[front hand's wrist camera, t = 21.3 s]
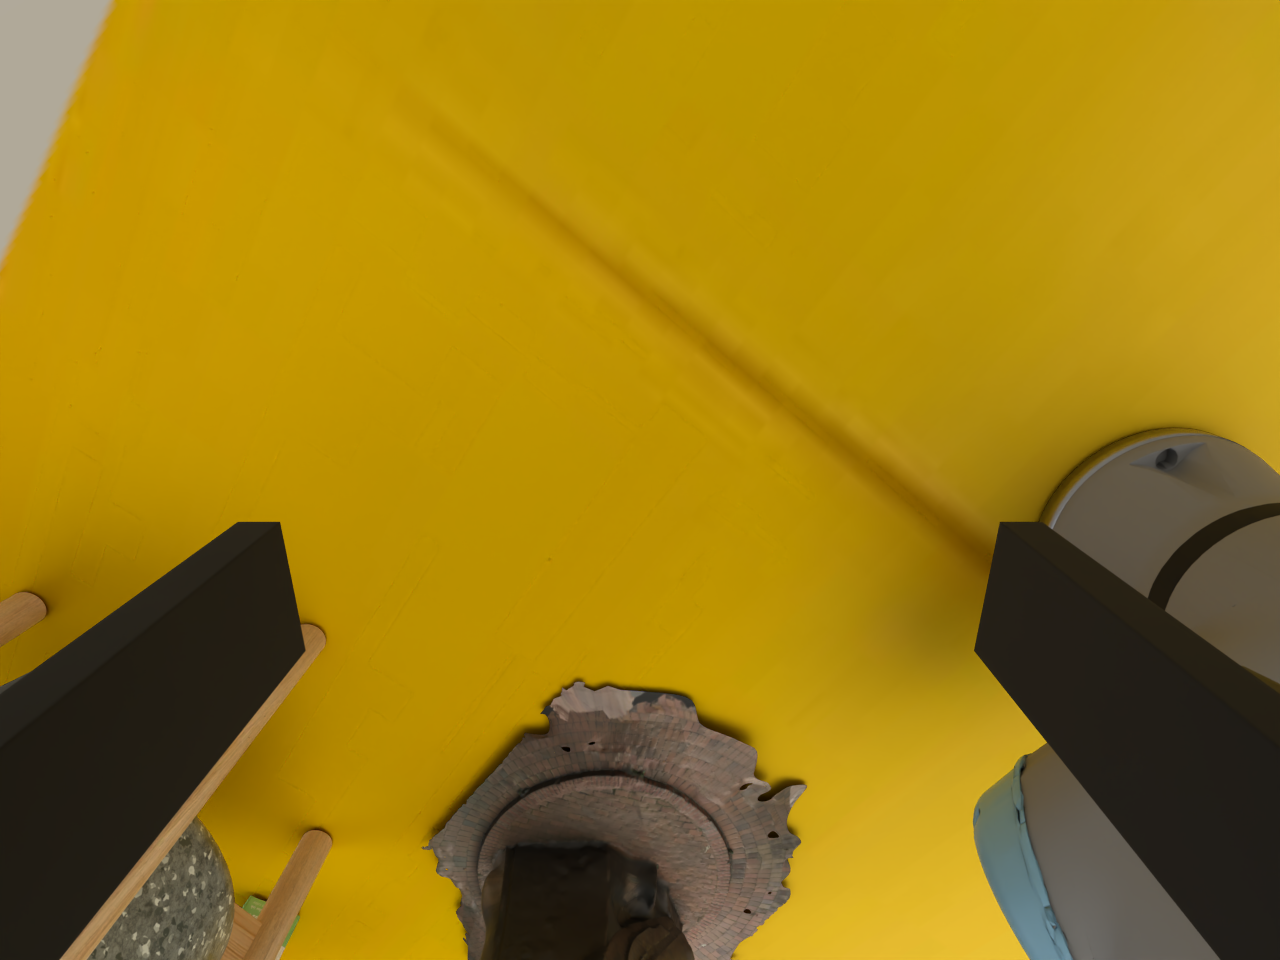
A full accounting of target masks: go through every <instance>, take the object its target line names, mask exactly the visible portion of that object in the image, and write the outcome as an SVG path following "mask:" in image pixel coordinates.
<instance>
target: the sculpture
mask: <svg viewBox="0 0 1280 960" xmlns="http://www.w3.org/2000/svg"><path fill="white" fill-rule="evenodd" d="M584 684H585V682H576V683H574V686H572V687H571V688H569V689H568V690H565V689H564V688H562V692H561V696H560V697H557V698H555V699H554V700H553V702H552V703H551V705H549V706H546V707H545V709H544V710H543V711H542V712H541V713H540V714H545V715H546V716H547V717H548V719H549V722H550V730H549V732H548V733H547V734H544V735H537V734H529V733H525V734H524V736H525V737H526V738H523V740H522V741H521V743H518V744H517V745H516V746H515V748H513V750H512V752H510V753H509V755H508V757H506V758H505V759H504V761H502V762H503V763H502V764H500V765H499V766H498V767H497V768H496V769H495V771H494V772H493V773H492V774H491V775H490V776H488V778H487V779H485V782H484V783H483V784H481V786H479V787H478V788H477V789H476V790H475V792H473V793H474V794H473V795H472V796H470V797H469V799H467V803H466V804H463V805H462V807H461V808H459V809H458V812H456V814H454V815H453V816H452V819H450V821H448V823H446V826H445V828H444V829H443V830H442V831H440V832H439V833H438V834H436V835H435V836H434V837H432V840H429V846H427V847H425V848H424V847H423V848H422V849H426V850H430V849H433V851H434V853H435V855H436V857H437V858H438V860H439V862H438V865H437V868H436V872H437V873H438V874H439V875H440V876H442V877H447V878H450V879H451V880H452V882H453V883H454V885H455V886H456V887H457V888H459V889H460V890H461V893H462V895H463V896H462V900H461V906H460V908H458V909H457V911H456V914H457V916H458V918H459V920H460V921H461V922H462V924H463V926H464V928H465V929H466V931H467V932H468V934H467V933H466V934H465V935H466V940H467V941H466V940H465V939H464V938H463V940H464V941H465V942H466V944H467V945H468V960H731V959H730V957H731V955H732V953H733V952H734V950H735V949H736V947H737V946H738V944H739V943H740V942H741V941H743V940H744V939H746V938H748V937H749V936H752V935H753V934H754V933H755V932H756V931H757V929H756V928H757V927H758V926H759V925H763V924H764V921H765V920H766V919H768V918H769V917H770V916H771V915H772V914H774V912H776V911H777V908H778V907H780V906H782V905H783V903H784V904H785V903H786V902H787V900H788V899H789V897H790V889H788V888H784V887H783V886H782V883H781V882H782V881H783V880H784V879H785V878H786V877H787V876H788V875H789V873H790V865H789V863H788V860H787V859H788V858H793V856H792V854H793V851H794V849H795V848H796V847H797V846H798V845H799V844H800V843H801V841H800V839H799V838H798V837H797V836H795V835H793V834H791V833H790V832H789V831H788V828H787V817H788V814H789V812H790V809H791V807H792V806H793V804H794V803H795V801H796V800H797V799H798V798H799V796H800V795H801V794H802V793H803V792H804V790H805V789H806V788H807V786H806V785H795V786H790V787H787V788H785V789H783V790H782V791H780V792H779V793H777V794H776V795H775V796H774V797H773V798H772V799H770V800H768V801H765V802H760V801H758V797H759V796H760V795H761V794H763V793H766V792H768V791H769V790H770V789H771V786H770V785H769V784H768V783H767V782H764V781H761V780H758V779H756V778H755V776H754V770H755V766H756V762H757V751H756V750H755V749H754V748H753V747H751V746H749V745H747V744H745V743H742V742H740V741H738V740H736V739H734V738H732V737H729V736H726V735H724V734H721V733H718V732H715V731H713V730H710V729H708V728H706V727H704V726H703V725H701V724H700V722H699V721H698V717H697V713H696V708H695V705H694V703H693V702H692V700H690V699H688V698H687V697H684V696H680V695H675V694H667V693H656V692H642V691H627V690H619V689H616V688H613V687H610V686H607V687H604V688H602V689H599V690H597V691H593V690H590V689H588V688H585V687H584ZM590 742H595V744H593V745H588V743H590ZM561 747H569V748H570V752H566V751H564V750H563V749H562V748H561ZM554 752H555V753H554ZM747 783H753V784H752V785H749V786H748V787H747V788H746V789H745V790H740V787H741V786H742V785H744V784H747ZM764 786H766V787H764ZM771 831H775V832H776V833H777V834H778V835H779V837H778V838H769V837H768V834H769V833H770V832H771ZM445 868H447V869H448V870H445ZM768 892H772V893H771V894H768ZM745 909H749V910H750V911H751V914H747V913H744V910H745Z"/></svg>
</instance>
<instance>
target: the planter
mask: <svg viewBox="0 0 1280 960" xmlns="http://www.w3.org/2000/svg"><path fill="white" fill-rule="evenodd" d="M45 616H46V606H45V604H44V603H43V601H42V600H41V599H40V598H39V597H37V596H35V595H34V594H31V593H27V592H20V593H16V594H14V595H13V596H11V597H9V598H8V599H6V600H4V601H2V602H1V603H0V647H1V646H3V645H4V644H6V643H7V642H9V641H10V640H12V639H13V638H15V637H17V636H18V635H20V634H21V633H23V632H24V631H26V630H27V629H29V628H30V627H32V626H33V625H35V624H37V623H38V622H40V621H41V620H43V619H44V617H45ZM301 629H302V634H303V639H304V644H305V649H306V651H305V652H304V654H303V655H302V656H301V657H300V659H299V660H298V661H297V662H296V664H295V665H294V666H293V667H292V669H291V670H290V671H289V672H288V674H287V675H286V676H285V677H284V679H283V680H282V681H281V682H280V684H279V685H278V686H277V688H276V689H275V690H274V691H273V693H272V694H271V695H270V696H269V698H268V699H267V700H266V701H265V703H264V704H263V705H262V706H261V708H260V709H259V710H258V711H257V713H256V714H255V715H254V716H253V718H252V719H251V720H250V721H249V723H248V724H247V725H246V726H245V728H244V729H243V730H242V731H241V733H240V734H239V735H238V736H237V738H236V739H235V740H234V741H233V743H232V744H231V745H230V747H229V748H228V749H227V750H226V752H225V753H224V754H223V755H222V757H221V758H220V759H219V760H218V762H217V763H216V764H215V765H214V767H213V768H212V769H211V770H210V772H209V773H208V774H207V775H206V777H205V778H204V779H203V780H202V782H201V783H200V784H199V785H198V787H197V788H196V789H195V790H194V792H193V793H192V794H191V795H190V797H189V798H188V799H187V800H186V802H185V803H184V804H183V806H182V807H181V808H180V809H179V811H178V812H177V813H176V814H175V816H174V817H173V818H172V819H171V821H170V822H169V823H168V824H167V826H166V827H165V828H164V829H163V831H162V832H161V833H160V834H159V836H158V837H157V838H156V839H155V841H154V842H153V843H152V844H151V846H150V847H149V848H148V849H147V851H146V852H145V853H144V854H143V856H142V857H141V858H140V859H139V861H138V862H137V863H136V865H135V866H134V867H133V868H132V870H131V871H130V872H129V873H128V875H127V876H126V877H125V878H124V880H123V881H122V882H121V883H120V885H119V886H118V887H117V888H116V890H115V891H114V892H113V893H112V895H111V896H110V897H109V898H108V900H107V901H106V902H105V903H104V905H103V906H102V907H101V908H100V910H99V911H98V912H97V913H96V915H95V916H94V917H93V918H92V920H91V921H90V922H89V924H88V925H87V926H86V927H85V929H84V930H83V931H82V932H81V934H80V935H79V936H78V937H77V939H76V940H75V941H74V942H73V944H72V945H71V946H70V947H69V949H68V950H67V951H66V952H65V954H64V955H63V956H62V957H61V959H60V960H275V958H276V956H277V954H278V952H279V950H280V948H281V946H282V944H283V942H284V940H285V938H286V936H287V934H288V932H289V930H290V928H291V926H292V924H293V922H294V920H295V918H296V916H297V914H298V912H299V910H300V908H301V906H302V904H303V902H304V900H305V898H306V896H307V894H308V892H309V890H310V888H311V886H312V884H313V882H314V880H315V878H316V876H317V874H318V872H319V870H320V868H321V866H322V865H323V863H324V861H325V859H326V857H327V855H328V853H329V851H330V849H331V846H332V840H331V838H330V836H329V835H328V834H326V833H325V832H323V831H319V830H311V831H308V832H306V833H305V834H304V835H303V837H302V839H301V840H300V842H299V844H298V846H297V848H296V849H295V851H294V853H293V855H292V857H291V858H290V860H289V862H288V864H287V866H286V867H285V869H284V871H283V873H282V875H281V876H280V878H279V880H278V882H277V884H276V885H275V887H274V889H273V891H272V892H271V894H270V896H269V898H268V900H267V901H266V903H265V905H264V907H263V909H262V910H261V912H260V914H259V916H258V918H257V919H256V918H255V917H253V916H252V915H251V914H249V913H248V912H247V911H245V910H244V909H242V908H241V907H240V906H238V905H237V904H236V903H234V890H233V885H232V879H231V876H230V873H229V869H228V866H227V864H226V862H225V859H224V857H223V855H222V853H221V851H220V849H219V847H218V845H217V844H216V842H215V840H214V839H213V837H212V835H211V834H210V832H209V831H208V830H207V828H206V827H205V826H204V824H203V823H202V822H201V821H200V820H199V818H198V817H197V816H196V815H197V814H198V812H199V811H200V810H201V808H202V807H203V806H204V805H205V803H206V802H207V801H208V799H209V798H210V797H211V795H212V794H213V793H214V791H215V790H216V789H217V787H218V786H219V785H220V783H221V782H222V781H223V780H224V778H225V777H226V776H227V774H228V773H229V772H230V770H231V769H232V768H233V766H234V765H235V764H236V762H237V761H238V760H239V758H240V757H241V756H242V755H243V753H244V752H245V751H246V749H247V748H248V747H249V745H250V744H251V743H252V741H253V740H254V739H255V737H256V736H257V735H258V733H259V732H260V731H261V730H262V728H263V727H264V726H265V724H266V723H267V722H268V720H269V719H270V718H271V716H272V715H273V714H274V712H275V711H276V710H277V708H278V707H279V706H280V704H281V703H282V702H283V701H284V699H285V698H286V697H287V695H288V694H289V693H290V691H291V690H292V689H293V687H294V686H295V685H296V683H297V682H298V681H299V679H300V678H301V677H302V676H303V674H304V673H305V672H306V670H307V669H308V668H309V666H310V665H311V664H312V662H313V661H314V660H315V658H316V657H317V656H318V654H319V653H320V652H321V651H322V649H323V648H324V646H325V644H326V638H325V635H324V633H323V632H322V631H321V630H320V629H319V628H318V627H316V626H314V625H310V624H302V625H301Z"/></svg>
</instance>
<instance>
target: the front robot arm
mask: <svg viewBox="0 0 1280 960" xmlns="http://www.w3.org/2000/svg"><path fill="white" fill-rule="evenodd" d="M305 651H306V649H305V644H304V639H303V634H302V629H301V624H300V619H299V614H298V609H297V604H296V599H295V594H294V589H293V584H292V579H291V574H290V569H289V564H288V559H287V554H286V549H285V544H284V539H283V535H282V530H281V525H280V522H237V523H236V524H234V525H233V526H232V527H230V528H229V529H228V530H226V531H225V532H223V533H222V534H221V535H219V536H218V537H216V538H215V539H214V540H212V541H211V542H210V543H208V544H207V545H205V546H204V547H203V548H201V549H200V550H199V551H197V552H196V553H194V554H193V555H192V556H190V557H189V558H187V559H186V560H185V561H183V562H182V563H181V564H179V565H178V566H176V567H175V568H174V569H172V570H171V571H169V572H168V573H167V574H165V575H164V576H163V577H161V578H160V579H158V580H157V581H156V582H154V583H153V584H151V585H150V586H149V587H147V588H146V589H145V590H143V591H142V592H140V593H139V594H138V595H136V596H135V597H134V598H132V599H131V600H129V601H128V602H127V603H125V604H124V605H122V606H121V607H120V608H118V609H117V610H116V611H114V612H113V613H111V614H110V615H109V616H107V617H106V618H104V619H103V620H102V621H100V622H99V623H98V624H96V625H95V626H93V627H92V628H91V629H89V630H88V631H86V632H85V633H84V634H82V635H81V636H80V637H78V638H77V639H75V640H74V641H73V642H71V643H70V644H69V645H67V646H66V647H64V648H63V649H62V650H60V651H59V652H57V653H56V654H55V655H53V656H52V657H51V658H49V659H48V660H46V661H45V662H44V663H42V664H41V665H39V666H38V667H37V668H35V669H34V670H33V671H31V672H29V673H27V674H25V675H23V676H21V677H19V678H17V679H15V680H13V681H11V682H9V683H7V684H5V685H3V686H1V687H0V960H60V959H61V957H62V956H63V955H64V954H65V952H66V951H67V950H68V949H69V947H70V946H71V945H72V944H73V942H74V941H75V940H76V939H77V937H78V936H79V935H80V934H81V932H82V931H83V930H84V929H85V927H86V926H87V925H88V924H89V922H90V921H91V920H92V918H93V917H94V916H95V915H96V913H97V912H98V911H99V910H100V908H101V907H102V906H103V905H104V903H105V902H106V901H107V900H108V898H109V897H110V896H111V895H112V893H113V892H114V891H115V890H116V888H117V887H118V886H119V885H120V883H121V882H122V881H123V880H124V878H125V877H126V876H127V875H128V873H129V872H130V871H131V870H132V868H133V867H134V866H135V865H136V863H137V862H138V861H139V859H140V858H141V857H142V856H143V854H144V853H145V852H146V851H147V849H148V848H149V847H150V846H151V844H152V843H153V842H154V841H155V839H156V838H157V837H158V836H159V834H160V833H161V832H162V831H163V829H164V828H165V827H166V826H167V824H168V823H169V822H170V821H171V819H172V818H173V817H174V816H175V814H176V813H177V812H178V811H179V809H180V808H181V807H182V806H183V804H184V803H185V802H186V800H187V799H188V798H189V797H190V795H191V794H192V793H193V792H194V790H195V789H196V788H197V787H198V785H199V784H200V783H201V782H202V780H203V779H204V778H205V777H206V775H207V774H208V773H209V772H210V770H211V769H212V768H213V767H214V765H215V764H216V763H217V762H218V760H219V759H220V758H221V757H222V755H223V754H224V753H225V752H226V750H227V749H228V748H229V747H230V745H231V744H232V743H233V741H234V740H235V739H236V738H237V736H238V735H239V734H240V733H241V731H242V730H243V729H244V728H245V726H246V725H247V724H248V723H249V721H250V720H251V719H252V718H253V716H254V715H255V714H256V713H257V711H258V710H259V709H260V708H261V706H262V705H263V704H264V703H265V701H266V700H267V699H268V698H269V696H270V695H271V694H272V693H273V691H274V690H275V689H276V688H277V686H278V685H279V684H280V682H281V681H282V680H283V679H284V677H285V676H286V675H287V674H288V672H289V671H290V670H291V669H292V667H293V666H294V665H295V664H296V662H297V661H298V660H299V659H300V657H301V656H302V655H303V654H304V652H305ZM974 651H975V652H976V654H977V655H978V656H979V657H980V659H981V660H982V661H983V662H984V664H985V665H986V666H987V667H988V669H989V670H990V671H991V672H992V674H993V675H994V676H995V677H996V679H997V680H998V681H999V682H1000V684H1001V685H1002V686H1003V688H1004V689H1005V690H1006V691H1007V693H1008V694H1009V695H1010V696H1011V698H1012V699H1013V700H1014V701H1015V703H1016V704H1017V705H1018V706H1019V708H1020V709H1021V710H1022V711H1023V713H1024V714H1025V715H1026V716H1027V718H1028V719H1029V720H1030V721H1031V723H1032V724H1033V725H1034V726H1035V728H1036V729H1037V730H1038V731H1039V733H1040V734H1041V735H1042V736H1043V738H1044V739H1045V740H1046V741H1047V743H1046V744H1045V745H1043V746H1042V747H1040V748H1039V749H1038V750H1036V751H1035V752H1033V753H1032V754H1031V753H1030V754H1027V755H1024V756H1022V757H1021V758H1020V759H1019V760H1018V761H1017V763H1016V764H1015V766H1014V769H1012V770H1011V771H1010V772H1009V773H1008V774H1007V775H1005V776H1004V777H1003V778H1002V779H1000V780H999V781H998V782H997V783H995V784H994V785H993V786H992V787H990V788H989V789H988V790H987V791H986V792H984V793H983V795H982V796H981V797H980V798H979V800H978V802H977V804H976V806H975V809H974V818H973V826H974V840H975V844H976V848H977V852H978V855H979V859H980V862H981V864H982V867H983V870H984V873H985V875H986V877H987V880H988V882H989V885H990V887H991V889H992V891H993V894H994V896H995V898H996V900H997V902H998V904H999V906H1000V908H1001V910H1002V912H1003V914H1004V916H1005V917H1006V919H1007V921H1008V923H1009V925H1010V927H1011V928H1012V930H1013V932H1014V934H1015V935H1016V937H1017V939H1018V941H1019V942H1020V944H1021V946H1022V947H1023V949H1024V951H1025V952H1026V954H1027V955H1028V957H1029V959H1030V960H1280V475H1279V474H1278V473H1277V472H1275V471H1274V470H1273V469H1272V468H1271V467H1270V466H1269V465H1268V464H1267V463H1266V462H1265V461H1264V460H1262V459H1261V458H1260V457H1259V456H1257V455H1256V454H1254V453H1252V452H1251V451H1250V450H1248V449H1247V448H1245V447H1243V446H1241V445H1239V444H1237V443H1235V442H1233V441H1230V440H1227V439H1225V438H1222V437H1219V436H1216V435H1213V434H1210V433H1208V432H1204V431H1200V430H1195V429H1187V428H1164V429H1157V430H1150V431H1146V432H1142V433H1138V434H1135V435H1132V436H1129V437H1126V438H1124V439H1121V440H1119V441H1117V442H1115V443H1113V444H1111V445H1109V446H1107V447H1105V448H1103V449H1102V450H1100V451H1098V452H1097V453H1095V454H1094V455H1092V456H1091V457H1090V458H1088V459H1087V460H1085V461H1084V462H1083V463H1082V464H1081V465H1079V466H1078V467H1077V468H1076V469H1075V470H1074V471H1073V472H1072V473H1071V474H1070V475H1069V476H1068V477H1067V478H1066V479H1065V480H1064V481H1063V482H1062V484H1061V485H1060V486H1059V487H1058V488H1057V490H1056V491H1055V493H1054V494H1053V495H1052V497H1051V499H1050V500H1049V502H1048V504H1047V505H1046V507H1045V509H1044V511H1043V513H1042V516H1041V518H1040V521H1039V522H1000V525H999V530H998V535H997V539H996V544H995V549H994V554H993V559H992V564H991V569H990V574H989V579H988V584H987V589H986V594H985V599H984V604H983V609H982V614H981V619H980V624H979V629H978V634H977V639H976V644H975V649H974Z"/></svg>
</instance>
